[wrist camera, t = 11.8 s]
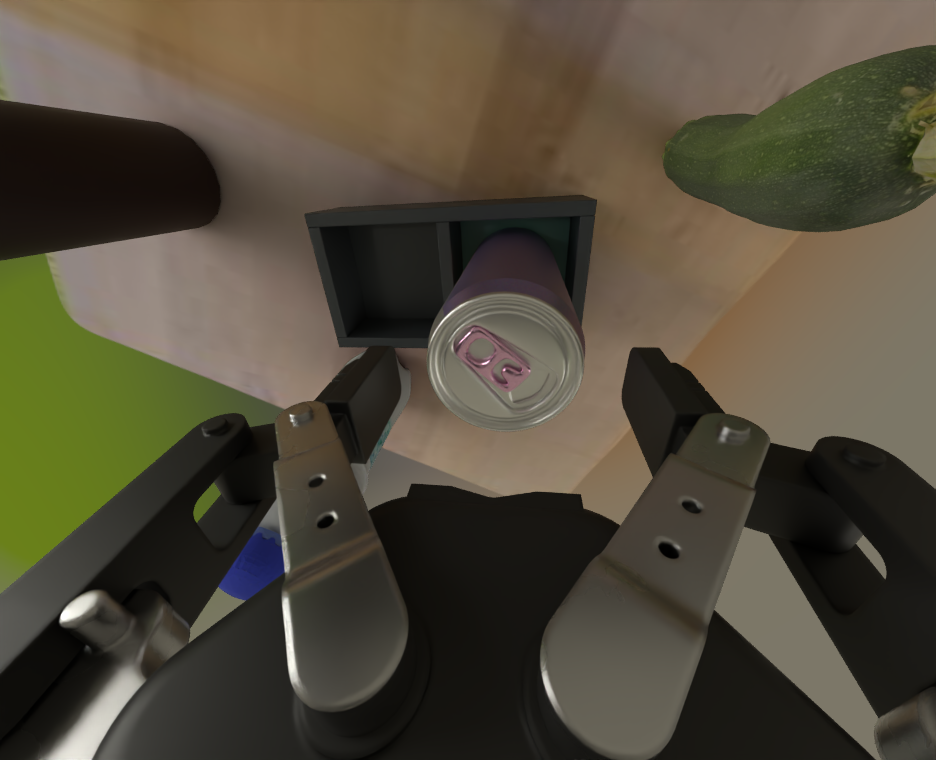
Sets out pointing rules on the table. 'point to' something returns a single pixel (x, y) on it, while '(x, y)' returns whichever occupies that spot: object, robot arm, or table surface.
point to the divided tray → (430, 258)
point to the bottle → (265, 545)
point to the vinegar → (95, 180)
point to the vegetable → (821, 149)
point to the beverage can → (507, 337)
